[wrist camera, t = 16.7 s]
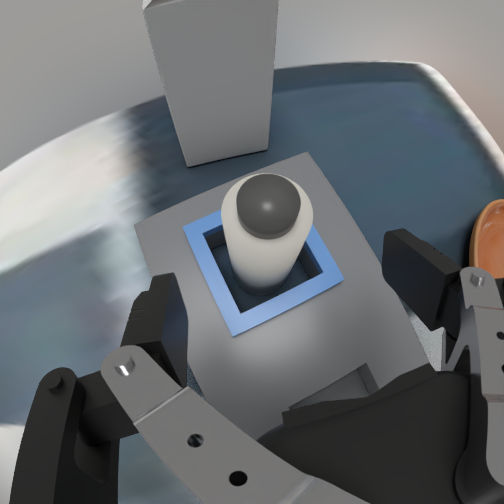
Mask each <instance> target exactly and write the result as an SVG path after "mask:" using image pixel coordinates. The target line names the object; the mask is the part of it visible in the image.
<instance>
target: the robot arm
mask: <svg viewBox="0 0 504 504" xmlns="http://www.w3.org/2000/svg"><path fill="white" fill-rule="evenodd" d="M382 274H383V277H384V280H385V281H386V283H387V284H388V285H389V286H390V287H391V288H392V289H393V290H394V291H395V292H396V293H397V294H398V295H399V296H400V298H401V299H402V300H403V301H404V302H405V303H406V304H407V305H408V306H409V307H410V308H411V310H412V311H413V312H414V313H415V314H416V315H417V316H418V317H419V318H420V320H421V321H422V322H423V323H424V324H425V325H426V326H427V328H428V329H429V330H430V331H434V330H436V329H438V328H441V327H444V328H445V329H444V332H443V335H442V360H441V371H435V370H434V368H433V367H432V366H431V364H430V363H427V364H425V365H422V366H420V367H418V368H416V369H413V370H411V371H409V372H406V373H404V374H401V375H399V376H398V377H396V378H395V379H393V380H392V381H391V382H389V383H388V384H386V385H385V386H384V387H382V388H381V389H379V390H378V391H376V392H375V393H373V394H372V395H370V396H368V397H364V398H357V399H347V400H336V401H324V402H320V403H316V404H312V405H309V406H305V407H301V408H297V409H293V410H288V411H284V412H282V420H283V424H281V425H279V426H276V427H274V428H273V429H271V430H269V431H268V432H266V433H265V434H263V435H262V436H261V437H259V438H258V439H257V440H256V441H255V440H254V439H252V438H251V437H250V436H248V435H247V434H246V433H244V432H243V431H242V430H241V429H239V428H238V427H237V426H235V425H234V424H233V423H232V422H230V421H229V420H228V419H227V418H225V417H224V416H223V415H222V414H220V413H219V412H218V411H217V410H216V409H214V408H213V407H212V406H211V405H210V404H209V403H207V402H206V401H205V400H204V399H203V398H202V397H200V396H199V395H198V394H197V393H196V392H195V391H194V390H192V389H191V388H190V387H188V386H187V351H188V315H187V310H186V307H185V304H184V301H183V297H182V294H181V291H180V288H179V285H178V281H177V278H176V276H175V274H174V272H172V273H166V274H161V275H155V276H153V278H152V281H151V285H150V288H149V291H144V292H141V294H140V295H139V296H138V297H137V298H136V299H135V300H134V303H133V306H132V309H131V313H130V315H129V318H128V319H129V321H128V322H127V325H126V328H125V332H124V335H123V339H122V342H121V346H120V347H119V348H117V349H115V350H113V351H112V352H110V353H109V354H108V355H107V356H106V357H105V358H104V360H103V362H102V364H101V370H100V371H98V372H95V373H92V374H89V375H86V376H83V377H80V378H77V376H76V375H75V373H74V372H73V371H72V370H71V369H69V368H65V367H61V368H57V369H54V370H52V371H50V372H49V373H47V374H46V375H45V376H44V377H43V378H42V380H41V381H40V383H39V385H38V388H37V391H36V394H35V397H34V400H33V403H32V406H31V409H30V412H29V416H28V419H27V422H26V426H25V429H24V433H23V437H22V441H21V444H20V449H19V453H18V457H17V462H16V467H15V472H14V477H13V482H12V488H11V495H10V503H9V504H118V460H119V442H120V438H124V437H127V436H130V435H133V434H136V433H139V432H140V434H141V435H142V436H143V437H144V439H145V440H146V441H147V443H148V444H149V445H150V446H151V448H152V449H153V450H154V451H155V452H156V454H157V455H158V456H159V457H160V458H161V460H162V461H163V462H164V463H165V464H166V465H167V466H168V468H169V469H170V470H171V471H172V472H173V473H174V474H175V475H176V476H177V477H178V479H179V480H180V481H181V482H182V483H183V484H184V485H185V486H186V487H187V488H188V489H189V490H190V491H191V492H192V493H193V494H194V495H195V496H196V497H197V498H198V499H199V500H200V501H201V502H202V503H203V504H504V278H496V279H494V277H493V276H492V275H491V274H490V273H489V272H487V271H486V270H484V269H481V268H478V267H466V268H464V269H462V268H461V267H460V266H458V265H457V264H456V263H455V262H453V261H452V260H451V259H449V258H448V257H447V256H445V255H444V254H443V255H442V253H441V252H440V251H438V250H436V249H435V248H434V247H433V246H431V245H430V244H429V243H427V242H425V241H422V240H420V239H419V238H417V237H416V236H414V235H413V234H411V233H410V232H408V231H407V230H406V229H397V230H392V231H388V232H386V233H385V235H384V244H383V257H382Z"/></svg>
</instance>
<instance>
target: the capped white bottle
mask: <svg viewBox="0 0 504 504" xmlns="http://www.w3.org/2000/svg"><path fill="white" fill-rule="evenodd" d="M221 219H222V224H223V229H224V234H225V238H226V243H227V247H228V252H229V257H230V261H231V266H232V270H233V275H234V278H235V280H236V282H237V284H238V285H239V286H240V287H241V288H242V289H243V290H244V291H246V292H248V293H250V294H253V295H257V296H264V295H269V294H272V293H274V292H276V291H277V290H279V289H280V288H281V287H282V286H283V284H284V283H285V281H286V279H287V277H288V275H289V273H290V271H291V269H292V267H293V265H294V263H295V261H296V259H297V257H298V255H299V253H300V251H301V248H302V246H303V244H304V242H305V240H306V238H307V236H308V234H309V232H310V229H311V226H312V222H313V209H312V205H311V202H310V200H309V198H308V196H307V194H306V193H305V191H304V190H303V189H302V188H301V187H300V186H299V185H298V184H296V183H295V182H294V181H292V180H290V179H288V178H286V177H284V176H281V175H277V174H271V173H261V174H255V175H251V176H248V177H246V178H243V179H242V180H240V181H238V182H237V183H236V184H235V185H233V186H232V187H231V189H230V190H229V191H228V193H227V194H226V196H225V198H224V200H223V203H222V208H221Z"/></svg>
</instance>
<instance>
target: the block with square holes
mask: <svg viewBox="0 0 504 504" xmlns="http://www.w3.org/2000/svg"><path fill="white" fill-rule="evenodd" d="M261 173H271V174H277V175H281V176H284V177H286V178H288V179H290V180H292V181H294V182H295V183H296V184H298V185H299V186H300V187H301V188H302V189H303V190H304V191H305V193H306V194H307V196H308V198H309V200H310V202H311V205H312V209H313V222H312V226H311V229H310V232H309V234H308V236H307V238H306V240H305V242H304V244H303V246H302V248H301V251H300V253H299V255H298V258H299V260H300V262H301V263H302V265H303V267H304V269H305V271H306V273H307V274H308V276H309V278H310V280H308V281H306V282H304V283H302V284H300V285H298V286H296V287H294V288H292V289H290V290H288V291H286V292H285V293H283V294H281V295H279V296H276V297H274V298H272V299H270V300H268V301H266V302H264V303H262V304H260V305H258V306H256V307H254V308H252V309H250V310H248V311H246V312H244V313H242V314H240V312H239V310H238V307H237V305H236V303H235V301H234V299H233V297H232V295H231V293H230V291H229V289H228V287H227V285H226V283H225V281H224V279H223V276H222V274H221V272H220V270H219V268H218V266H217V264H216V262H215V259H214V257H213V255H212V253H211V251H210V250H211V249H213V248H215V247H217V246H220V245H222V244H224V243H226V238H225V234H224V229H223V224H222V219H221V208H222V203H223V200H224V198H225V196H226V194H227V193H228V191H229V190H230V189H231V187H232V186H233V185H235V184H236V183H237V182H238V181H240V180H242V179H243V178H246V177H248V176H251V175H255V174H261ZM134 227H135V231H136V234H137V237H138V240H139V242H140V245H141V248H142V251H143V254H144V257H145V260H146V262H147V265H148V268H149V271H150V273H151V276H152V278H153V276H155V275H161V274H166V273H172V272H174V274H175V276H176V278H177V281H178V285H179V288H180V291H181V294H182V297H183V301H184V304H185V307H186V310H187V315H188V351H187V362H188V364H189V366H190V368H191V370H192V372H193V374H194V376H195V378H196V380H197V382H198V384H199V386H200V388H201V390H202V392H203V394H204V396H205V398H206V400H207V402H208V403H209V404H210V405H211V406H212V407H213V408H214V409H216V410H217V411H218V412H219V413H220V414H222V415H223V416H224V417H225V418H227V419H228V420H229V421H230V422H232V423H233V424H234V425H235V426H237V427H238V428H239V429H241V430H242V431H243V432H244V433H246V434H247V435H248V436H250V437H251V438H252V439H254V440H255V441H256V440H257V439H258V438H259V437H261V436H262V435H263V434H265V433H266V432H268V431H269V430H271V429H273V428H274V427H276V426H279V425H281V424H283V420H282V412H284V411H288V410H290V409H289V408H288V407H289V406H291V405H293V404H295V403H297V402H299V401H301V400H303V399H305V398H307V397H309V396H311V395H312V394H314V393H316V392H318V391H320V390H321V389H323V388H325V387H327V386H328V385H330V384H332V383H334V382H335V381H337V380H339V379H340V378H342V377H344V376H345V375H347V374H349V373H350V372H352V371H354V370H355V369H358V371H359V373H360V375H361V377H362V379H363V381H364V384H365V386H366V388H367V390H368V392H369V394H370V395H372V394H373V393H375V392H376V391H378V390H379V389H381V388H382V387H384V386H385V385H386V384H388V383H389V382H391V381H392V380H393V379H395V378H396V377H398V376H399V375H401V374H404V373H406V372H409V371H411V370H413V369H416V368H418V367H420V366H422V365H425V364H427V363H430V362H429V360H428V358H427V356H426V353H425V351H424V349H423V347H422V344H421V342H420V340H419V338H418V336H417V334H416V332H415V330H414V328H413V325H412V323H411V321H410V319H409V317H408V315H407V313H406V311H405V309H404V307H403V305H402V303H401V302H400V300H399V298H398V296H397V294H396V292H395V291H394V290H393V289H392V288H391V287H390V286H389V285H388V284H387V283H386V281H385V280H384V277H383V274H382V267H381V265H380V263H379V261H378V259H377V258H376V256H375V254H374V253H373V251H372V249H371V247H370V246H369V244H368V242H367V241H366V239H365V237H364V236H363V234H362V233H361V231H360V229H359V228H358V226H357V224H356V223H355V221H354V220H353V218H352V217H351V215H350V213H349V212H348V210H347V209H346V207H345V206H344V204H343V203H342V201H341V200H340V198H339V197H338V195H337V194H336V192H335V191H334V189H333V188H332V186H331V185H330V183H329V182H328V180H327V179H326V177H325V176H324V174H323V173H322V172H321V170H320V169H319V167H318V166H317V165H316V163H315V162H314V160H313V159H312V158H311V156H310V155H309V154H308V152H305V153H302V154H299V155H296V156H294V157H291V158H288V159H285V160H283V161H280V162H277V163H275V164H272V165H270V166H267V167H264V168H262V169H259V170H257V171H254V172H252V173H249V174H247V175H244V176H242V177H239V178H237V179H234V180H232V181H230V182H227V183H225V184H222V185H220V186H218V187H215V188H213V189H211V190H208V191H206V192H204V193H201V194H199V195H197V196H195V197H192V198H190V199H188V200H186V201H183V202H181V203H179V204H177V205H175V206H172V207H170V208H168V209H166V210H164V211H162V212H160V213H157V214H155V215H153V216H151V217H149V218H147V219H145V220H143V221H141V222H139V223H137V224H135V225H134Z"/></svg>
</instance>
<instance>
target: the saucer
mask: <svg viewBox="0 0 504 504" xmlns="http://www.w3.org/2000/svg"><path fill="white" fill-rule="evenodd" d="M469 267H478V268H481V269H484V270H486V271H487V272H489V273H490V274H491V275H492V276H493V277H494V279H496V278H504V199H500V200H495V201H493V202H491V203H489V204H488V205H487V206H486V207H485V208H484V209H483V211H482V212H481V213H480V214H479V216H478V218H477V220H476V222H475V224H474V227H473V231H472V235H471V240H470V248H469Z"/></svg>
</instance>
